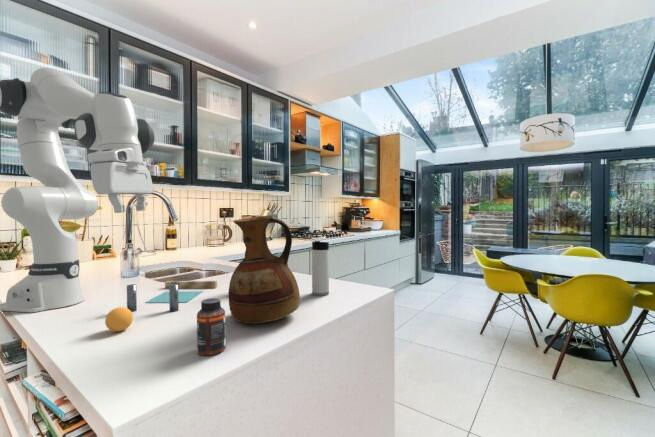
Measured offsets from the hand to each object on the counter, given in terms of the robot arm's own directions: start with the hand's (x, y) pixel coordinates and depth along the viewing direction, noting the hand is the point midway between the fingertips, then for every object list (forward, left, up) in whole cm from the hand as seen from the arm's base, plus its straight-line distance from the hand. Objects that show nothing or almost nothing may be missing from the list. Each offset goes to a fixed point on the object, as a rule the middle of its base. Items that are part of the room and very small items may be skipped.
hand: (131, 211), depth 81 cm
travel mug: (+49, +33, -31) cm, 67 cm away
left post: (-10, +15, -31) cm, 36 cm away
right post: (+3, +15, -31) cm, 35 cm away
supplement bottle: (+25, -13, -31) cm, 42 cm away
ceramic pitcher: (+33, +8, -31) cm, 46 cm away
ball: (-3, -1, -28) cm, 28 cm away
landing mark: (-3, +30, -31) cm, 43 cm away
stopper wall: (-3, +44, -31) cm, 54 cm away
